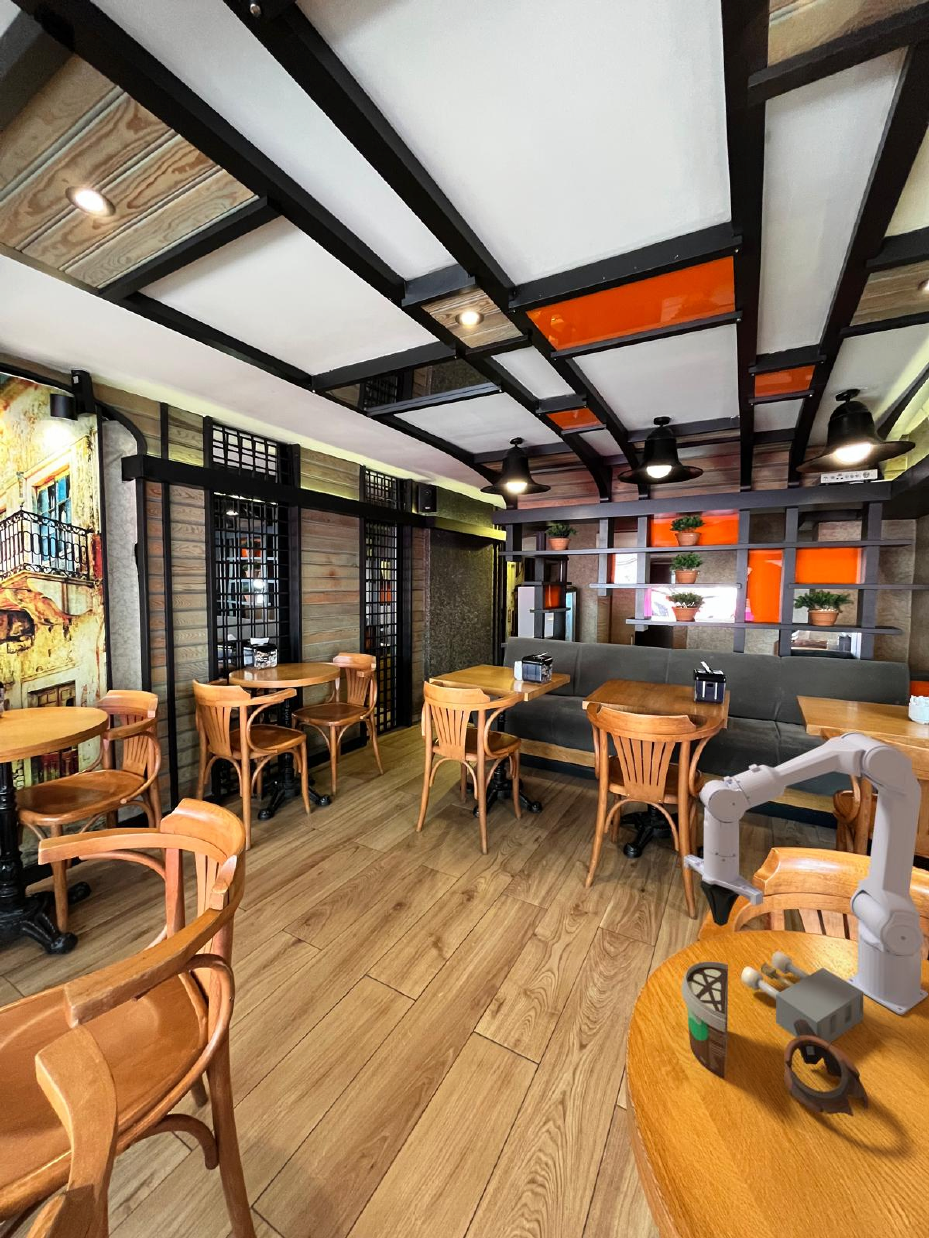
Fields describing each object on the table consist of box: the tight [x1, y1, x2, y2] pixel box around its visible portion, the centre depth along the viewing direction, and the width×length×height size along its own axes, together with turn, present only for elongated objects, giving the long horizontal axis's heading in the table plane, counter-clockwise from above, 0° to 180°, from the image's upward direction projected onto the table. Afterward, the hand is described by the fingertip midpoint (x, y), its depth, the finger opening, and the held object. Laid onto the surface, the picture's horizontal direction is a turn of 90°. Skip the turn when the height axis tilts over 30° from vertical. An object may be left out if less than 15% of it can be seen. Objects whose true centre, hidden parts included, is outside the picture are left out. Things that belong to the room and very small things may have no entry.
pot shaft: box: [760, 962, 795, 988], centre depth 85 cm, size 2×7×2 cm, turn 26°
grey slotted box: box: [775, 967, 864, 1044], centre depth 80 cm, size 13×6×5 cm, turn 116°
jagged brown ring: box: [783, 1019, 870, 1117], centre depth 69 cm, size 12×10×8 cm
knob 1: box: [741, 965, 781, 1001], centre depth 83 cm, size 3×7×3 cm, turn 26°
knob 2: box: [771, 950, 810, 981], centre depth 87 cm, size 3×7×3 cm, turn 26°
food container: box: [681, 960, 729, 1080], centre depth 76 cm, size 12×6×10 cm, turn 150°
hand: (720, 922), depth 91 cm, fingers closed
